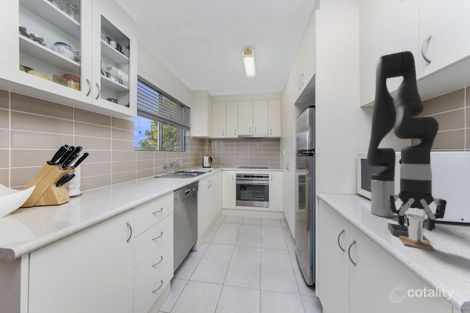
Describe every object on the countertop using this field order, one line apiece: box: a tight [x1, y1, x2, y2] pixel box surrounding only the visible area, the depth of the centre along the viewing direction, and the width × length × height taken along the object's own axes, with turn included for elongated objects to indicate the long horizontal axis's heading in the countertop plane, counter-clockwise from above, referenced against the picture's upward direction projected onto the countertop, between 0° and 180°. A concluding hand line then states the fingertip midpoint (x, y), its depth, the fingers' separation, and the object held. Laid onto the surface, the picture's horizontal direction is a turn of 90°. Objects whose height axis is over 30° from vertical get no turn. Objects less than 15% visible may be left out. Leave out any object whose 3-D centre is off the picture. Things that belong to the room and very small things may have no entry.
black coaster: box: [387, 222, 425, 240], centre depth 68 cm, size 8×8×2 cm
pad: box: [398, 236, 436, 252], centre depth 61 cm, size 7×7×1 cm
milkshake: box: [405, 212, 427, 244], centre depth 61 cm, size 4×5×10 cm
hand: (415, 227), depth 61 cm, fingers open, 6 cm apart
